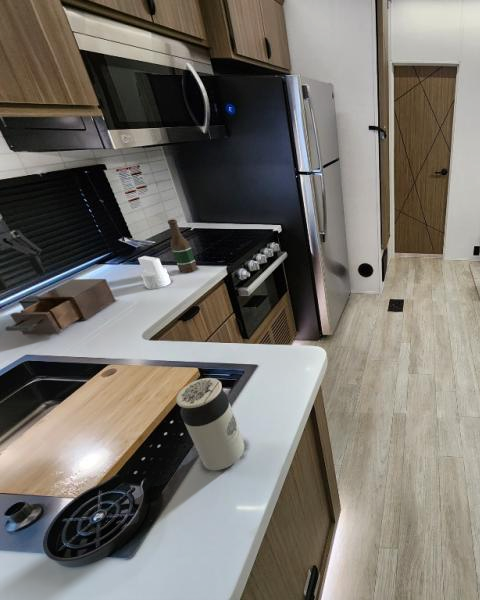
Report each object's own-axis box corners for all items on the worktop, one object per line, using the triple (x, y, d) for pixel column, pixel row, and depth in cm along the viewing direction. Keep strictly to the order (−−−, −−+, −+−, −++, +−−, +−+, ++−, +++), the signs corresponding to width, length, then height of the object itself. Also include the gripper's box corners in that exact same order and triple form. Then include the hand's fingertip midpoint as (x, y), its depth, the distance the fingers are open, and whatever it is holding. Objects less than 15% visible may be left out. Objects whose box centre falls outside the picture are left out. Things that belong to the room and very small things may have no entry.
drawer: (44, 343, 104) (31, 322, 101) (7, 343, 104) (-7, 322, 100) (91, 313, 120) (81, 294, 117) (59, 313, 120) (48, 294, 117)
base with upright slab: (175, 281, 146) (166, 256, 140) (156, 290, 139) (145, 263, 133) (160, 278, 149) (151, 253, 143) (141, 286, 141) (129, 260, 135)
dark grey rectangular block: (46, 313, 122) (38, 301, 119) (26, 314, 122) (18, 301, 119) (56, 308, 126) (49, 295, 123) (37, 308, 126) (29, 296, 123)
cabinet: (86, 320, 118) (73, 296, 113) (50, 321, 118) (35, 297, 113) (116, 300, 131) (105, 278, 126) (83, 301, 130) (71, 279, 126)
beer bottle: (201, 269, 158) (185, 219, 146) (185, 274, 152) (167, 223, 141) (192, 265, 161) (175, 217, 150) (175, 271, 156) (157, 221, 144)
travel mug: (194, 468, 67) (163, 404, 59) (219, 436, 74) (194, 374, 66) (230, 474, 66) (204, 410, 58) (251, 440, 73) (231, 378, 64)
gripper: (13, 212, 118) (45, 267, 129) (-73, 233, 97) (-26, 297, 107) (34, 212, 119) (64, 266, 129) (-46, 233, 97) (-3, 296, 107)
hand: (23, 280), depth 118 cm, fingers open, 13 cm apart
